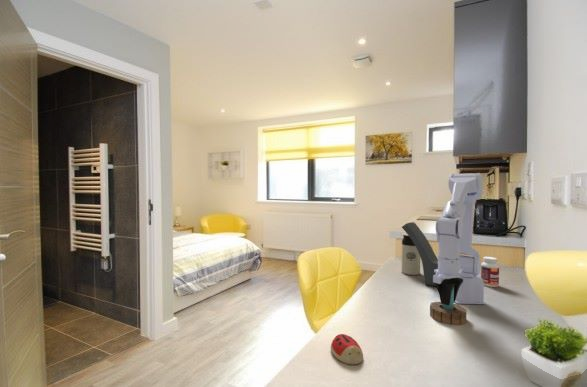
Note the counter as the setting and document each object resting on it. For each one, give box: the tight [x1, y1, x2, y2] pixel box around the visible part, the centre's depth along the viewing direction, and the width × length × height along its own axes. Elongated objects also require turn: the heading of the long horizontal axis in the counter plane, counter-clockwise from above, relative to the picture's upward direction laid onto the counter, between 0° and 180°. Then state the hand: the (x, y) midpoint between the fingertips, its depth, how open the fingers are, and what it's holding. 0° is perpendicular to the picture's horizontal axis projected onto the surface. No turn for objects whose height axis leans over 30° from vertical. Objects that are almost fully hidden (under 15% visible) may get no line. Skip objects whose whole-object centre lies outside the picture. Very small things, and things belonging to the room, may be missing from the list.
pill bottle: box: [480, 256, 500, 288], centre depth 123 cm, size 6×6×11 cm
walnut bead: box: [429, 301, 467, 326], centre depth 91 cm, size 10×10×3 cm
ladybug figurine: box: [330, 333, 364, 366], centre depth 71 cm, size 7×10×4 cm
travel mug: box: [401, 232, 421, 276], centre depth 140 cm, size 8×8×18 cm
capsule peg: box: [442, 287, 455, 311], centre depth 91 cm, size 3×3×8 cm
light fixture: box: [401, 221, 438, 287], centre depth 126 cm, size 11×17×24 cm, turn 45°
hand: (448, 302), depth 91 cm, fingers closed on capsule peg, 3 cm apart
